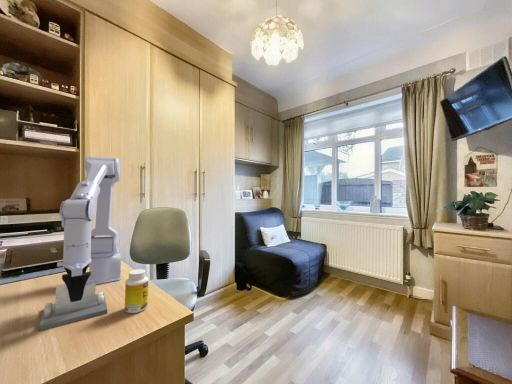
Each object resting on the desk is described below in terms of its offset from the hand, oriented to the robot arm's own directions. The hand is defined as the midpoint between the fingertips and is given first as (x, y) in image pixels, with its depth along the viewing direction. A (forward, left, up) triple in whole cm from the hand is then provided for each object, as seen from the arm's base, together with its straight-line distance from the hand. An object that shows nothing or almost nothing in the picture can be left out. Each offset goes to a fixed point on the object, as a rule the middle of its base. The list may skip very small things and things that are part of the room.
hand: (76, 295), depth 59 cm
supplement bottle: (-13, +8, -4) cm, 16 cm away
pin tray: (0, 0, -4) cm, 4 cm away
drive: (0, 0, -3) cm, 3 cm away
